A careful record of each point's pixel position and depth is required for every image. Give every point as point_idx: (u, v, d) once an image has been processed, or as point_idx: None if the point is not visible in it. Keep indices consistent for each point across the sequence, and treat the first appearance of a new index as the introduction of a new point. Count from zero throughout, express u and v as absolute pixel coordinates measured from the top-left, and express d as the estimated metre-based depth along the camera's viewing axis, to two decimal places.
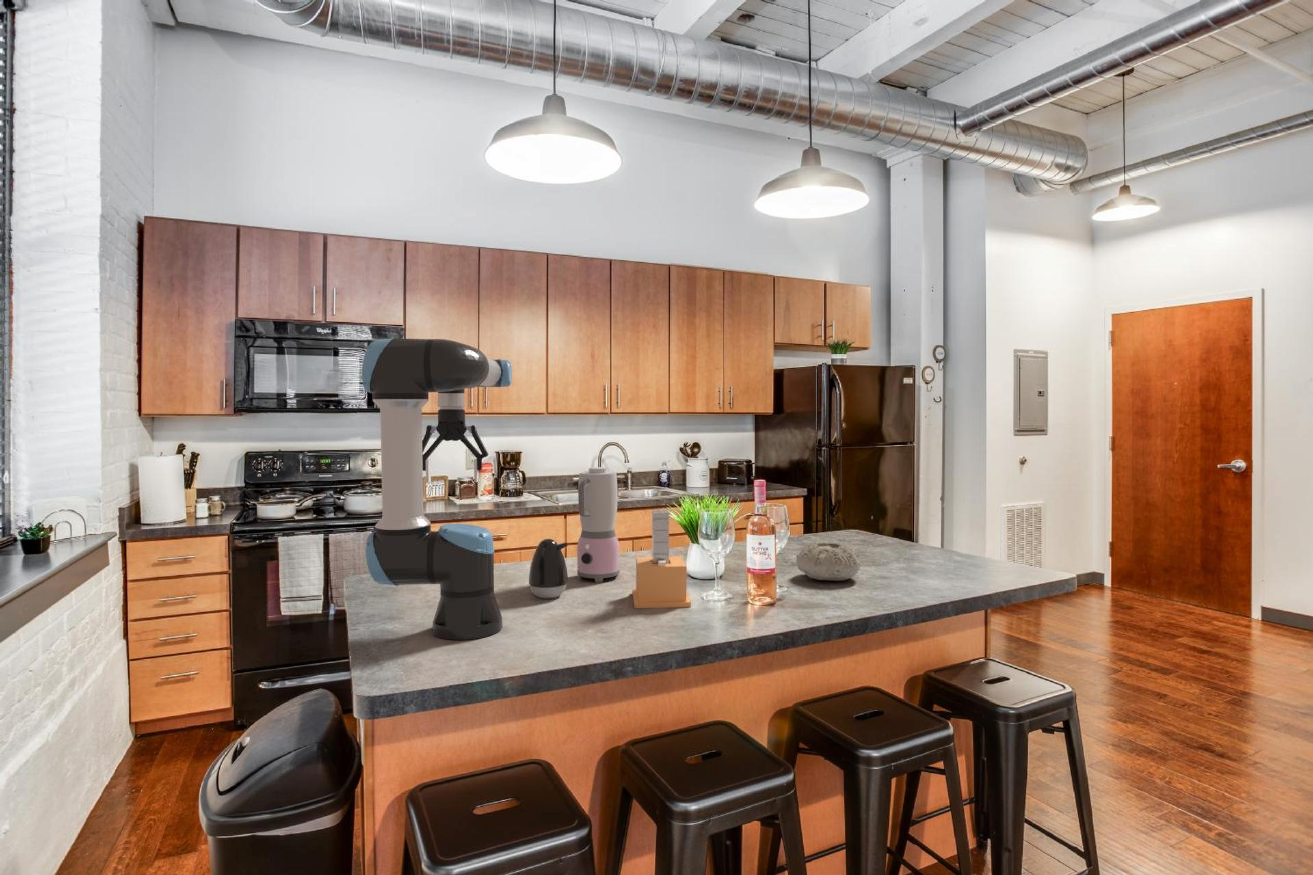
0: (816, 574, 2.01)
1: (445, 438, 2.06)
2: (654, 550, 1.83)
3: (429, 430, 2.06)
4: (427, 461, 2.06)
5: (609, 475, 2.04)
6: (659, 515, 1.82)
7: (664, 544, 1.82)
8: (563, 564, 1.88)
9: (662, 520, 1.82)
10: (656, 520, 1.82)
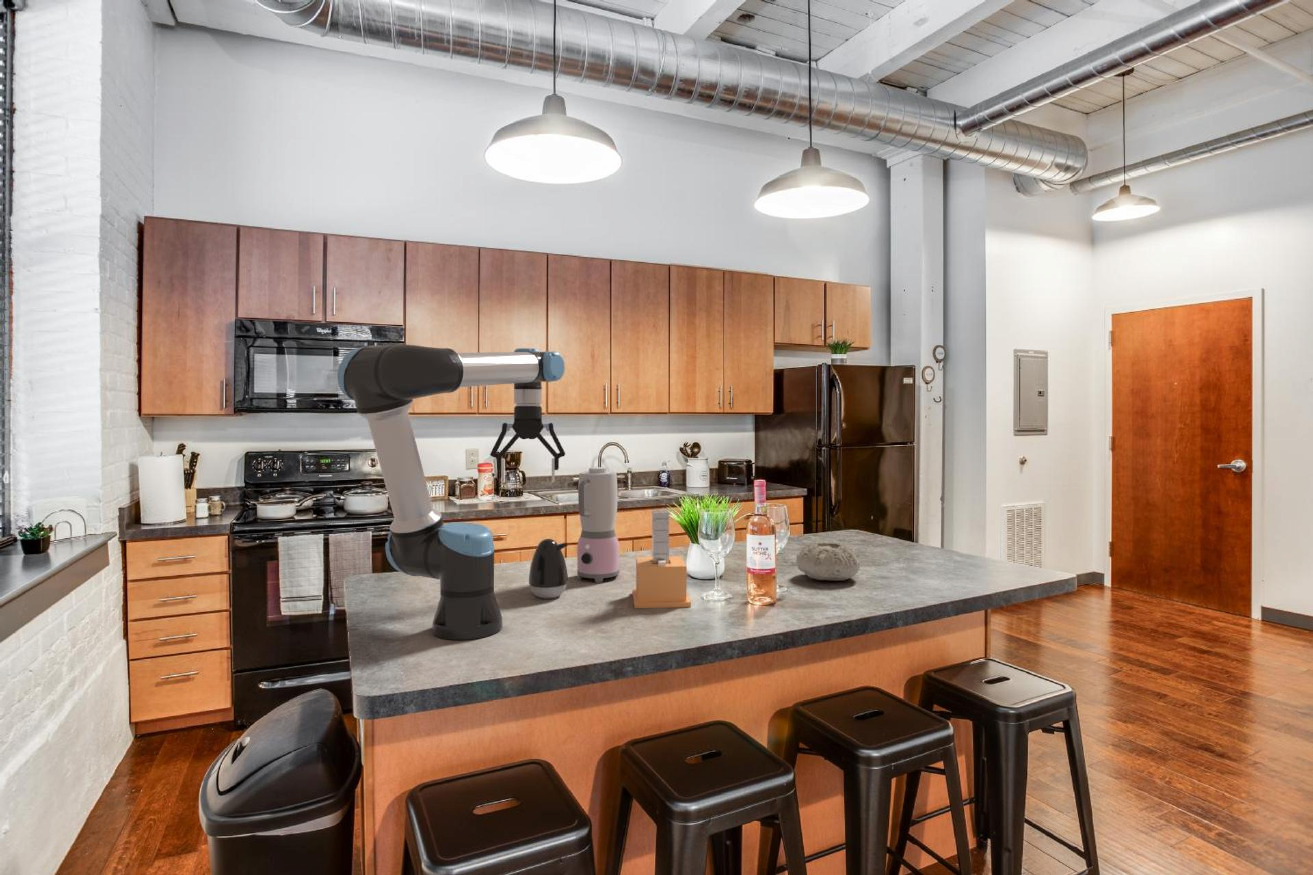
0: (816, 574, 2.01)
1: (522, 436, 1.97)
2: (654, 550, 1.83)
3: (505, 428, 1.96)
4: (503, 460, 1.96)
5: (609, 475, 2.04)
6: (659, 515, 1.82)
7: (664, 544, 1.82)
8: (563, 564, 1.88)
9: (662, 520, 1.82)
10: (656, 520, 1.82)
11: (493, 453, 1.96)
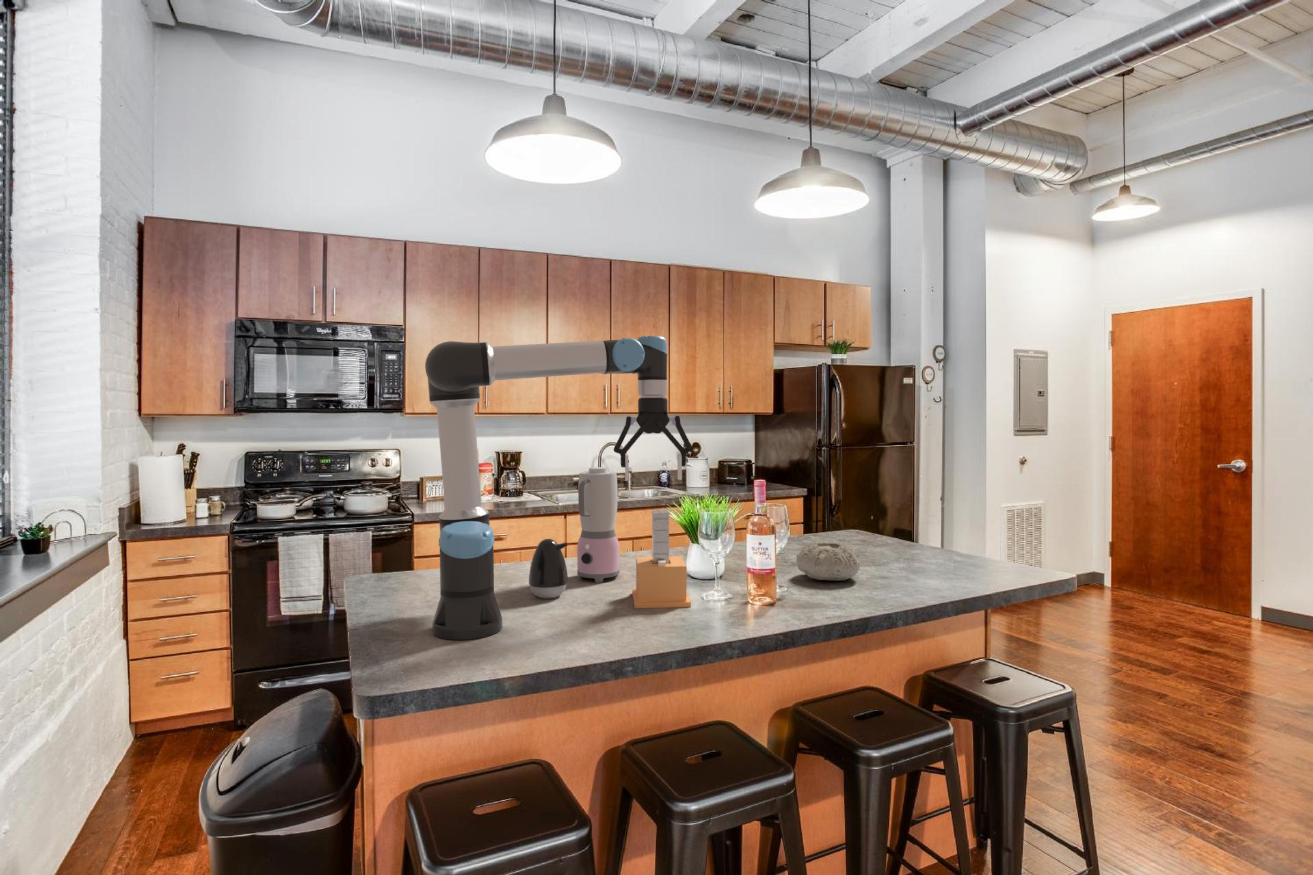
0: (816, 574, 2.01)
1: (647, 430, 1.83)
2: (654, 550, 1.83)
3: (629, 421, 1.83)
4: (627, 456, 1.83)
5: (609, 475, 2.04)
6: (659, 515, 1.82)
7: (664, 544, 1.82)
8: (563, 564, 1.88)
9: (662, 520, 1.82)
10: (656, 520, 1.82)
11: (617, 449, 1.83)
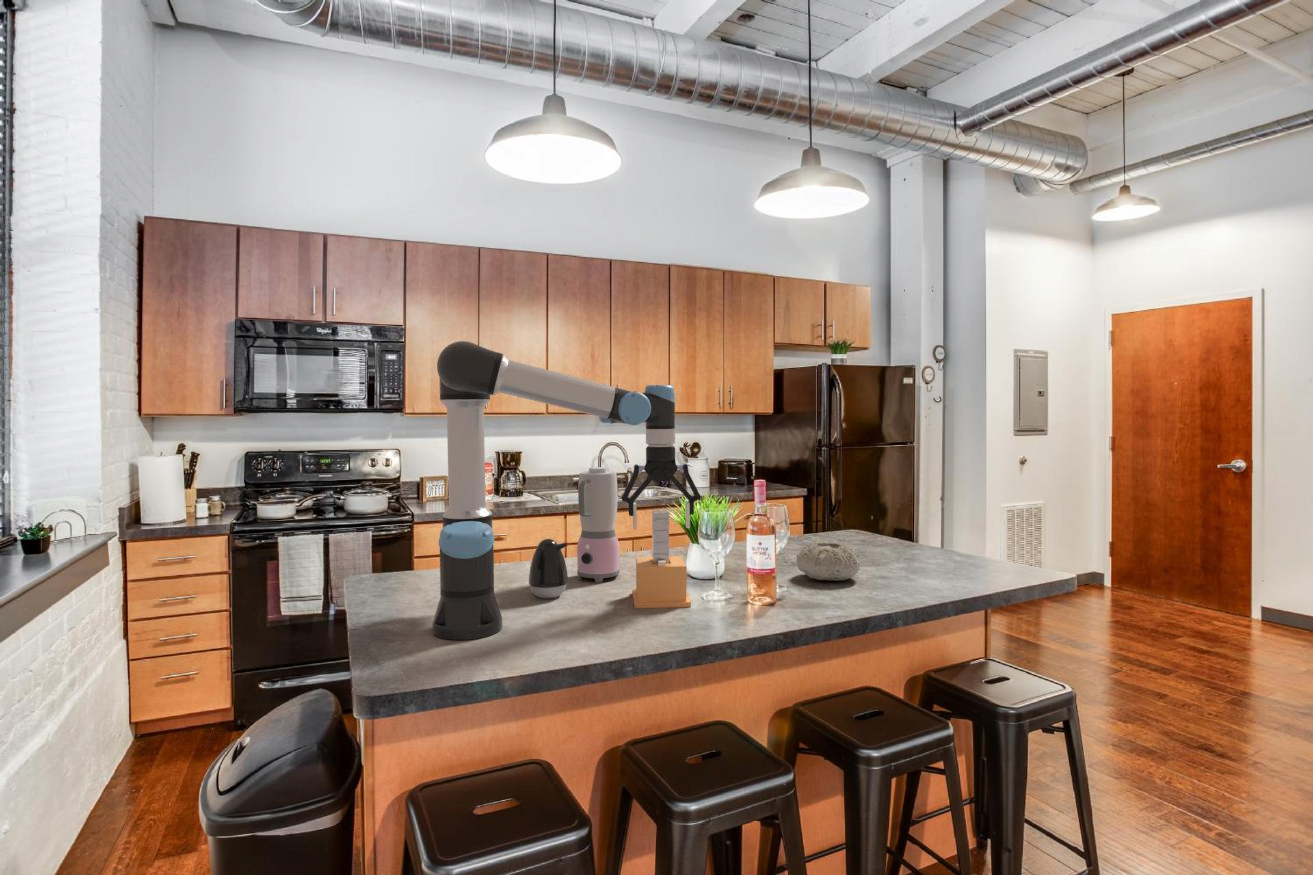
0: (816, 574, 2.01)
1: (655, 479, 1.83)
2: (654, 550, 1.83)
3: (637, 470, 1.82)
4: (635, 505, 1.83)
5: (609, 475, 2.04)
6: (659, 515, 1.82)
7: (664, 544, 1.82)
8: (563, 564, 1.88)
9: (662, 520, 1.82)
10: (656, 520, 1.82)
11: (625, 498, 1.82)
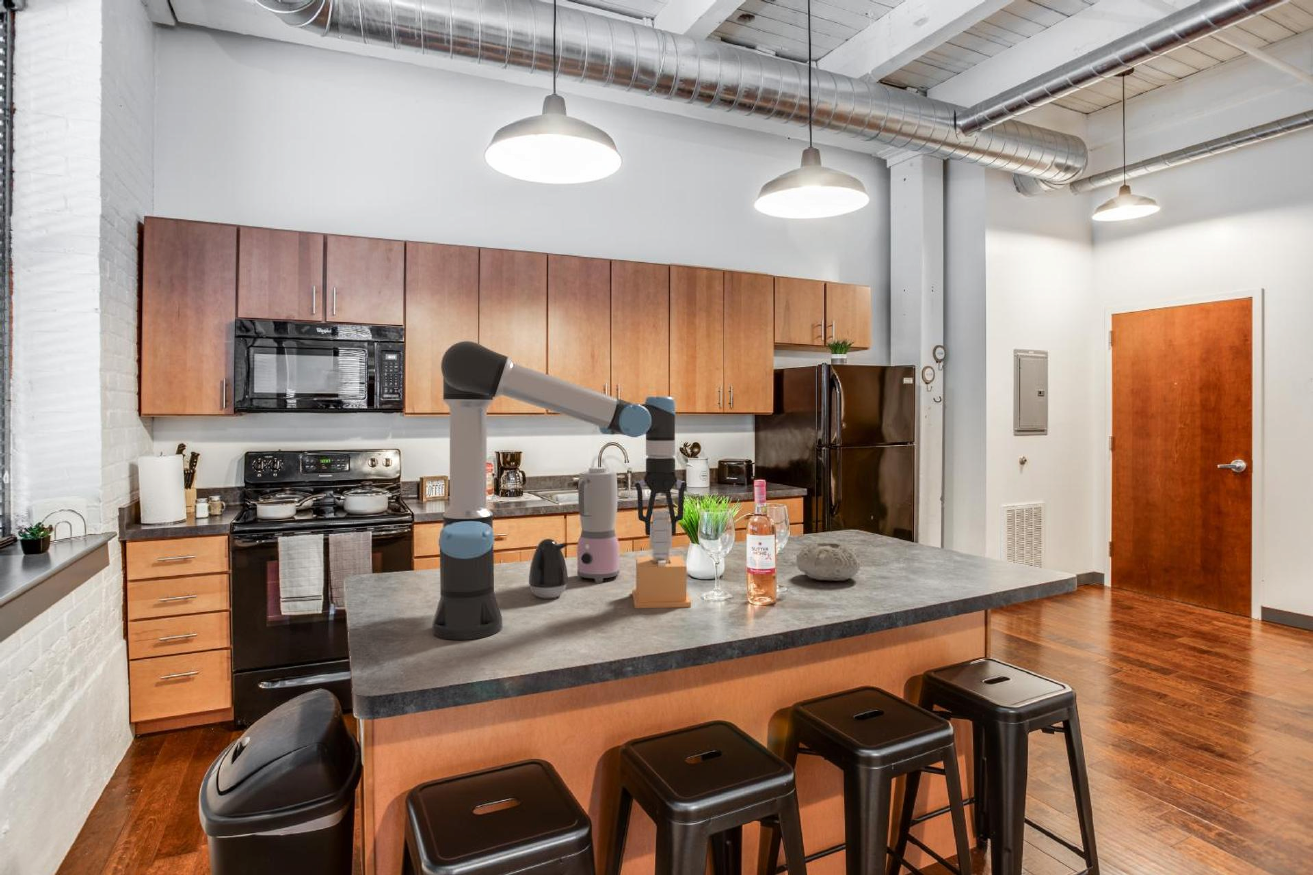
0: (816, 574, 2.01)
1: None
2: (654, 550, 1.83)
3: (639, 487, 1.83)
4: (652, 525, 1.83)
5: (609, 475, 2.04)
6: (659, 515, 1.82)
7: (664, 544, 1.82)
8: (563, 564, 1.88)
9: (662, 520, 1.82)
10: (656, 520, 1.82)
11: (641, 516, 1.83)
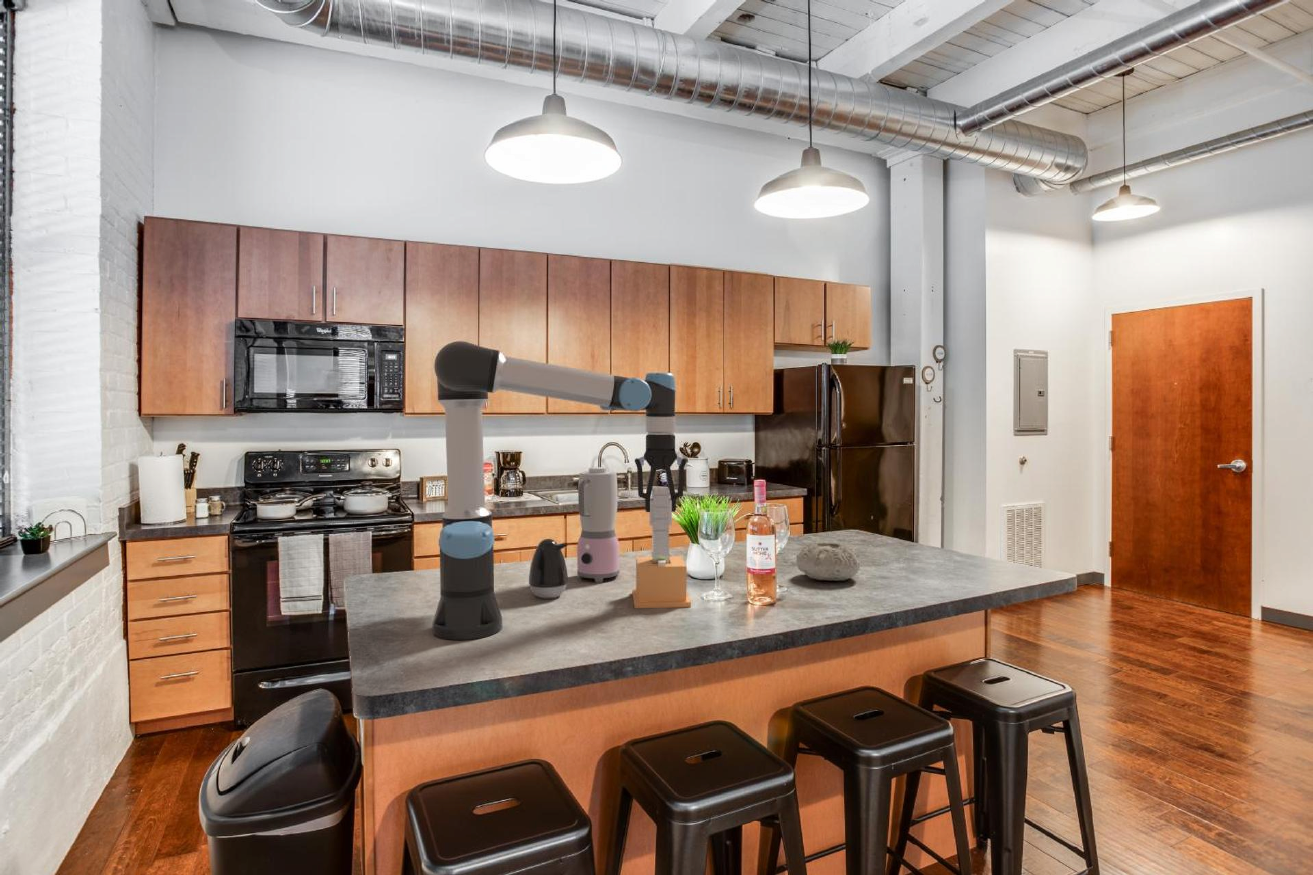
0: (816, 574, 2.01)
1: None
2: (654, 527, 1.83)
3: (639, 463, 1.82)
4: (652, 501, 1.83)
5: (609, 475, 2.04)
6: (659, 491, 1.81)
7: (664, 520, 1.82)
8: (563, 564, 1.88)
9: (662, 496, 1.82)
10: (656, 496, 1.82)
11: (641, 493, 1.83)
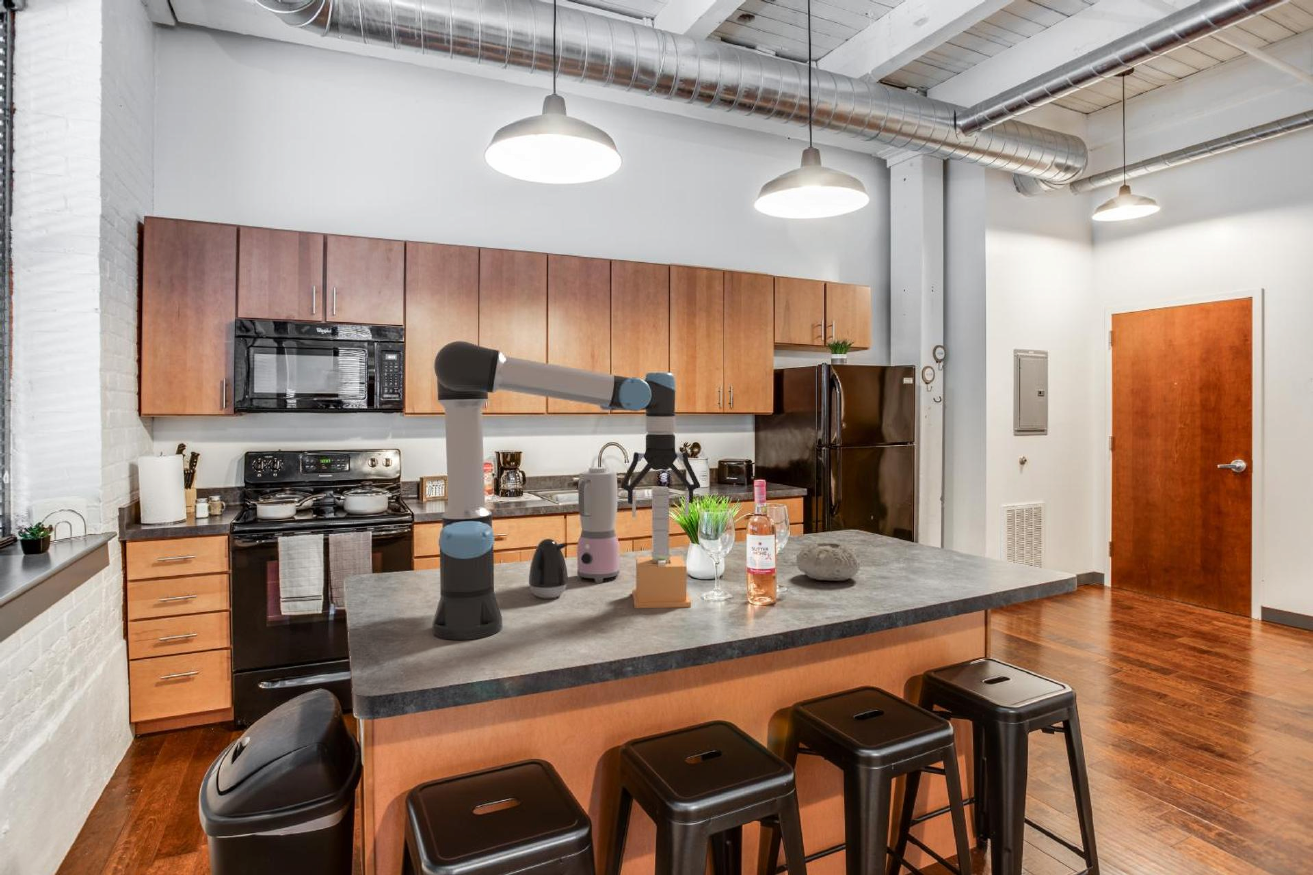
0: (816, 574, 2.01)
1: (654, 467, 1.83)
2: (654, 527, 1.83)
3: (637, 458, 1.82)
4: (634, 493, 1.83)
5: (609, 475, 2.04)
6: (659, 491, 1.81)
7: (664, 520, 1.82)
8: (563, 564, 1.88)
9: (662, 496, 1.82)
10: (656, 496, 1.82)
11: (624, 485, 1.82)
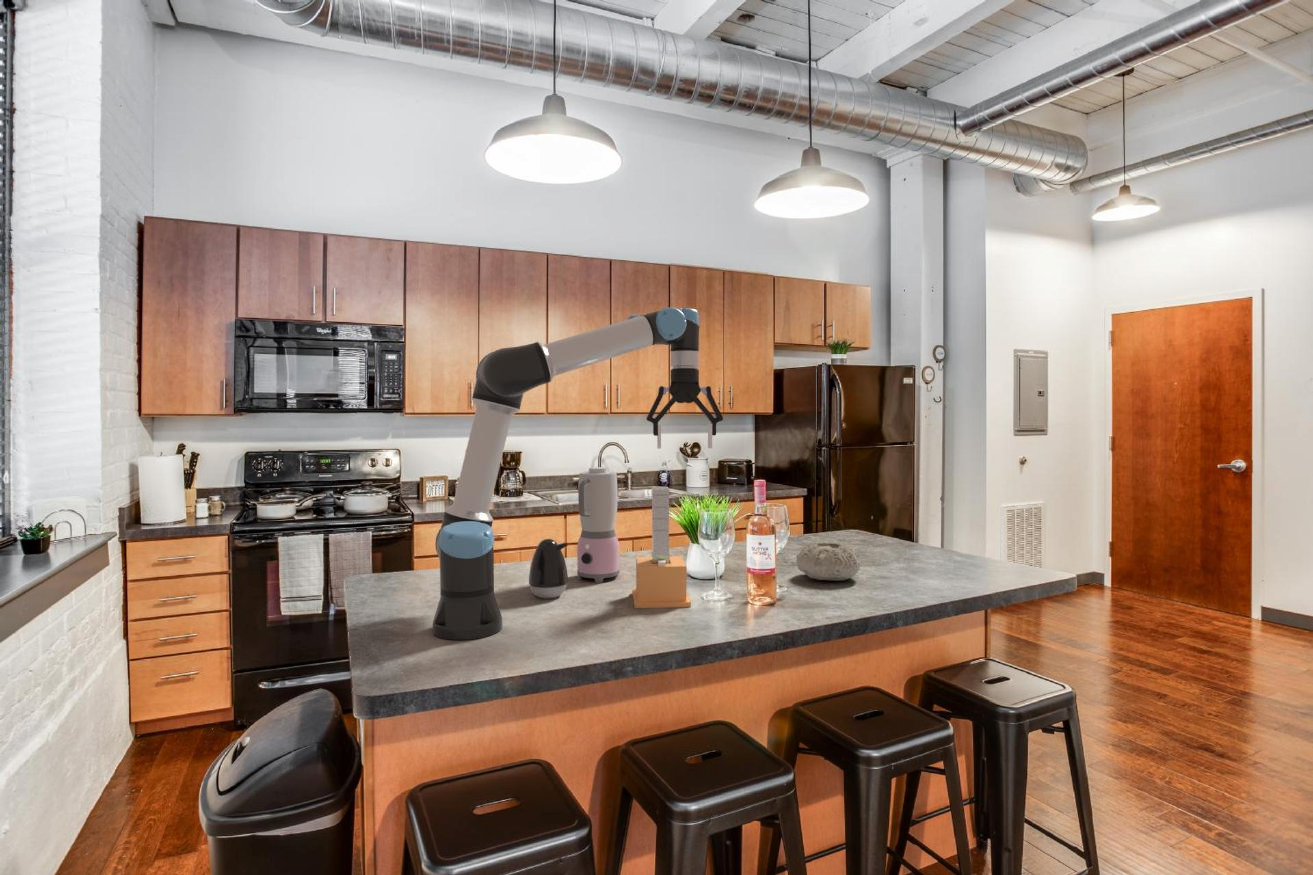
0: (816, 574, 2.01)
1: (679, 400, 1.89)
2: (654, 527, 1.83)
3: (662, 391, 1.89)
4: (659, 425, 1.89)
5: (609, 475, 2.04)
6: (659, 491, 1.81)
7: (664, 520, 1.82)
8: (563, 564, 1.88)
9: (662, 496, 1.82)
10: (656, 496, 1.82)
11: (650, 417, 1.89)
